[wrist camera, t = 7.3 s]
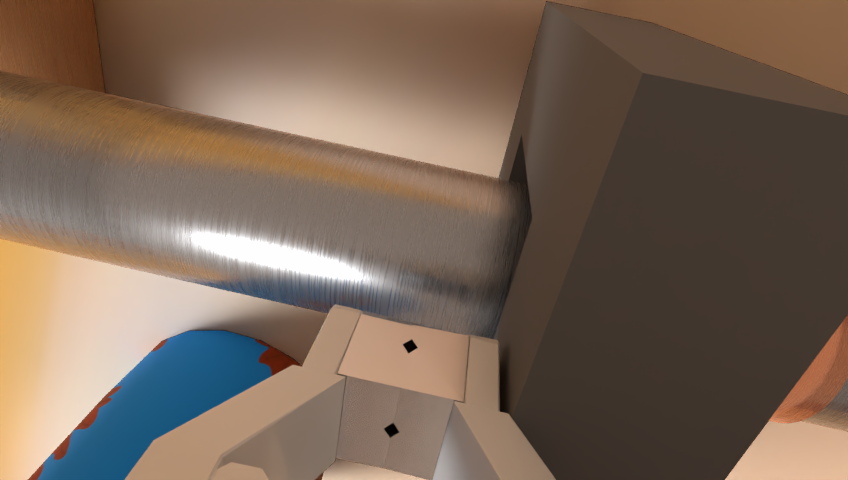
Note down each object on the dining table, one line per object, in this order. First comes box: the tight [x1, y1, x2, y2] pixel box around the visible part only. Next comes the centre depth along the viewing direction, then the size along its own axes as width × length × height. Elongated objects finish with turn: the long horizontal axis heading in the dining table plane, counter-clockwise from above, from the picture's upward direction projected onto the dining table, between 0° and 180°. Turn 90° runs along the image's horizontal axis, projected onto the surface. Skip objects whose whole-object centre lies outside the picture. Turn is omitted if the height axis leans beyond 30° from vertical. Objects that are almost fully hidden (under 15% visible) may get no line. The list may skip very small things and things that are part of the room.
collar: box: [494, 1, 848, 480], centre depth 12 cm, size 11×3×11 cm, turn 170°
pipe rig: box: [0, 0, 848, 432], centre depth 14 cm, size 7×33×9 cm, turn 80°
